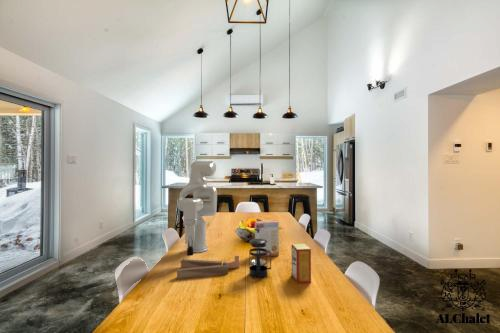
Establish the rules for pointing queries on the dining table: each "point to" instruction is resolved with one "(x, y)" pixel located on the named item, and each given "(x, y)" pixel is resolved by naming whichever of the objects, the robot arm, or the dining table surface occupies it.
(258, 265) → the french press
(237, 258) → the tab
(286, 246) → the dining table surface
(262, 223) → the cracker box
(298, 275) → the baking soda box
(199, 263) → the tongs jaw
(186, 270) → the tongs fixed jaw
